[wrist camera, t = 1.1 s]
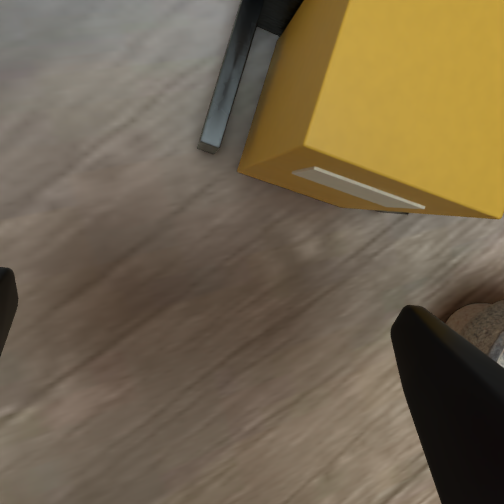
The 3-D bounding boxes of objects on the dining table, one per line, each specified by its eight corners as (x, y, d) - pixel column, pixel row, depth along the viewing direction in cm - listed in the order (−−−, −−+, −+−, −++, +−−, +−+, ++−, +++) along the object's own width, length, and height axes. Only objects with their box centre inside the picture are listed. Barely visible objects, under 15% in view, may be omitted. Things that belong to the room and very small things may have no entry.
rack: (380, 212, 24) (467, 219, 17) (196, 148, 22) (206, 124, 14) (426, 77, 24) (538, 24, 16) (242, -6, 21) (277, -113, 14)
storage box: (341, 209, 24) (500, 223, 12) (236, 173, 22) (301, 149, 11) (382, 86, 23) (592, -25, 11) (276, 40, 22) (393, -140, 10)
